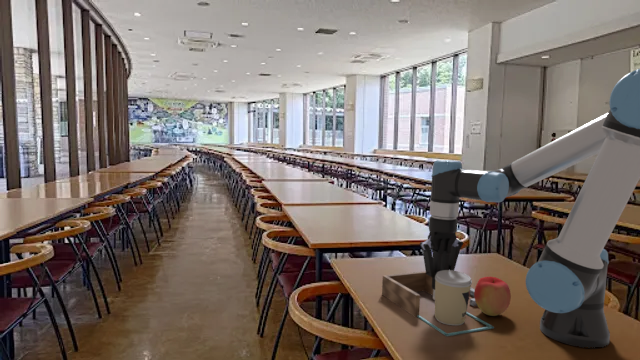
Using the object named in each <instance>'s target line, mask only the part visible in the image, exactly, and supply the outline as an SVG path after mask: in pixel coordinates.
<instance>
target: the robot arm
mask: <svg viewBox="0 0 640 360" xmlns="http://www.w3.org/2000/svg"><path fill="white" fill-rule="evenodd" d="M595 156H596V157H595ZM592 157H595V159H594V161H593V163H592V166H591V168H590V170H589V172H588V173H587V176H586V178H585V181H584V182H583V184H582V187H581V188H580V191H579V193H578V195H577V197H576V200H575V201H574V204H573V205H572V208H571V210H570V211H569V214H568V215H567V216H568V217H567V218H566V220H565V222H564V224H563V227H562V229H561V230H560V232H559V234H558V237H556V238H554V239H550V240H547V242H546V244H545V246H544V249H543V250H542V252H541V255H540V257H539V259H538V261H536V262H535V263H534V264H532V265H531V266H530V268H529V269H528V270H527V273H526V275H525V288H526V290H527V293H528V294H529V296H530V298H531V300H533V301H534V303H535V304H537V305H538V306H539V307H540V308H542V309H543V310H544V311H543V314H542V316H541V317H540V321H539V330H540V331H541V333H542V334H544V335H545V336H547V337H549V338H550V339H552V340H554V341H557V342H560V343H562V344H566V345H569V346H573V347H577V346H579V347H578V348H584V347H588V348H587V349H596V348H595V347H602V348H605V347H607V346H608V345H609V344H610V338H611V337H610V336H611V332H610V330H609V327H608V323H607V321H608V320H607V318H606V315H605V314H606V313H605V311H604V310H605V308H604V306H605V296H606V289H607V288H606V286H607V275H608V265H609V263H610V261H609V253H608V251H607V249H605V247H606V245H607V244H608V243H607V242H608V240H609V239H610V236H611V235H612V233H613V231H614V229H615V227H616V226H617V223H618V221H619V219H620V218H621V215H622V214H623V211H624V210H625V208H626V206H627V204H628V202H629V200H630V198H631V196H632V195H633V192H634V190H635V189H636V187H637V185H638V182H639V181H640V68H638V69H635V70H633V71H630V72H628V73H627V74H625V75H624V76H623V77H622V78H620V79H619V80H618V81H617V83H615V85H614V87H613V88H612V91H611V93H610V97H609V111H608V112H606V113H604V114H602V115H600V116H599V117H597V118H595V119H593V120H591V121H589V122H587V123H585V124H583V125H581V126H579V127H577V128H576V129H573V130H572V131H570V132H568V133H567V134H564V135H562V136H560V137H558V138H557V139H554V140H553V141H551V142H549V143H547V144H545V145H543V146H541V147H539V148H537V149H535V150H533V151H532V152H530V153H528V154H526V155H524V156H522V157H520V158H518V159H516V160H514V161H512V162H511V163H509V164H506V165H505V166H502V167H500V168H499V169H491V170H490V169H489V170H477V169H465V168H463V163H462V162H461V161H460V160H451V159H437V160H435V161H434V162H433V164H432V173H431V188H430V189H431V191H430V192H431V193H430V204H429V205H430V206H429V215H430V216H429V218H428V231H429V233H428V235H427V239H426V240H424V241H421V242H420V243H419V246H420V248H421V251H422V256H423V260H424V261H423V262H424V268H425V270H424V271H426V274H427V275H429V276H430V277H432V289H433V295H432V299H433V300H434V301H435V275H436V274H437V272H439V271H442V270H453V271H456V270H455V269H456V265H457V262H458V258H459V254H460V251H461V249H462V247H463V245H464V242H463V241H461V240H460V239H458V238H457V232H458V222H459V220H458V217H459V210H460V208H459V207H460V198H461V199H469V200H476V201H482V202H485V203H501V202H504V200H505V199H506V198H507V197H512V196H515V195H516V194H518V193H519V192H520V191H521V190H523V189H526V188H528V187H530V186H532V185H533V184H536V183H538V182H540V181H542V180H544V179H547V178H549V177H552V176H553V175H555V174H558V173H560V172H562V171H564V170H566V169H569V168H570V167H573V166H575V165H577V164H579V163H581V162H584V161H586V160H587V159H590V158H592ZM606 345H607V346H606ZM604 346H605V347H604ZM590 347H592V348H590ZM593 347H594V348H593Z"/></svg>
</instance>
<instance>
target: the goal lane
mask: <svg viewBox="0 0 640 360" xmlns="http://www.w3.org/2000/svg"><path fill="white" fill-rule="evenodd" d="M466 316H469V317H471V318H472V319H474V320H476V321H477V322H480V323H481V324H482V325H485V326H483V327H482V326H481V327H478V328H472V329H466V330H465V329H464V330H460V331H453V332H448V333H447V332H445V331H444V330H442V329H441V328H439V327H438V326H436V325H435V324H434V323H432V322H430V321H428V320H427V319H426V318H425V317H423V316H421V315H420V314H419V315H417V317H416V318H418V319H420V320H421V321H423V322H424V323H426V324H427V325H429V326H430V327H432V328H433V329H435V330H436V331H438V332H439V333H440V334H442V335H444V336H445V337H451V336H452V337H453V336H456V335H463V334H468V333H473V332H479V331H486V330H491V329H495V326H493V325H492V324H490V323H488V322H486V321H484V320H482V319H481V318H479V317H477V316H475V315H473V314H472V313H470V312H468V311H466Z"/></svg>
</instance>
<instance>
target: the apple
mask: <svg viewBox="0 0 640 360" xmlns="http://www.w3.org/2000/svg"><path fill="white" fill-rule="evenodd" d="M474 289H475V292H474V297H475V301H476V304H477V305H478V306H477V307H478V308H479V310H480V311H481V312H482V313H483V314H485V315H487V316H490V317H496V316H499V315H501V314H503V313H504V312H505V311H506V310H508V308H509V307H510V304H511V299H512V298H511V297H512V295H511V289H510V286H509V285H508V283H507V282H506V281H504V280H502V279H501V278H498V277H494V276H482V277H480V278H479V279H478V281H477V283H476V285H475V287H474ZM474 297H473V298H474Z"/></svg>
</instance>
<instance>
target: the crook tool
mask: <svg viewBox="0 0 640 360" xmlns="http://www.w3.org/2000/svg"><path fill="white" fill-rule="evenodd" d="M474 292H475V288H473V287H471V288H470V294H469V296H471V297H473V298H469V306H471V307H473V308H474V307H478V305H477V304H476V301H475V297H474Z"/></svg>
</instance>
